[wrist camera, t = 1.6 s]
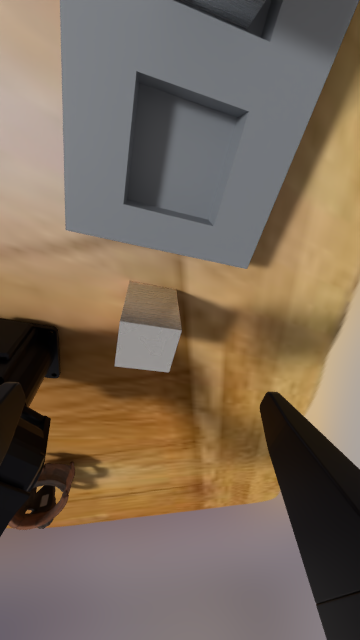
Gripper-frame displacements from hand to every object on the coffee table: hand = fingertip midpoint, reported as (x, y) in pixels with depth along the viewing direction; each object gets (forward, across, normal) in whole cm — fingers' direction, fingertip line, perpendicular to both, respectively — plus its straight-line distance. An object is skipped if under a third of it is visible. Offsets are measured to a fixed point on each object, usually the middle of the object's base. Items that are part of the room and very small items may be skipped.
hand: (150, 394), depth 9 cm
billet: (+13, 0, +4) cm, 13 cm away
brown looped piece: (+12, +14, +34) cm, 39 cm away
